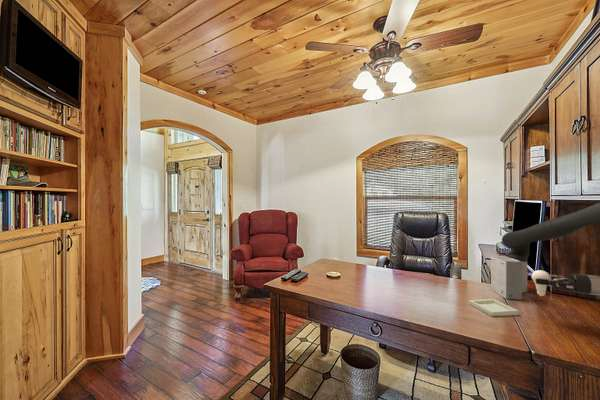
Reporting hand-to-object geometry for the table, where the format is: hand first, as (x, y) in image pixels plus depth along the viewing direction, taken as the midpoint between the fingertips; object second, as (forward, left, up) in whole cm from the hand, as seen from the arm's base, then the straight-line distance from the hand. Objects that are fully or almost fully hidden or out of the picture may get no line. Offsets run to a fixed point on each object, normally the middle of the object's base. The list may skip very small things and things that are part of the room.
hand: (533, 278), depth 110 cm
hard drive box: (-27, +14, -18) cm, 35 cm away
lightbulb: (+1, +2, -7) cm, 8 cm away
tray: (-11, -9, -18) cm, 23 cm away
